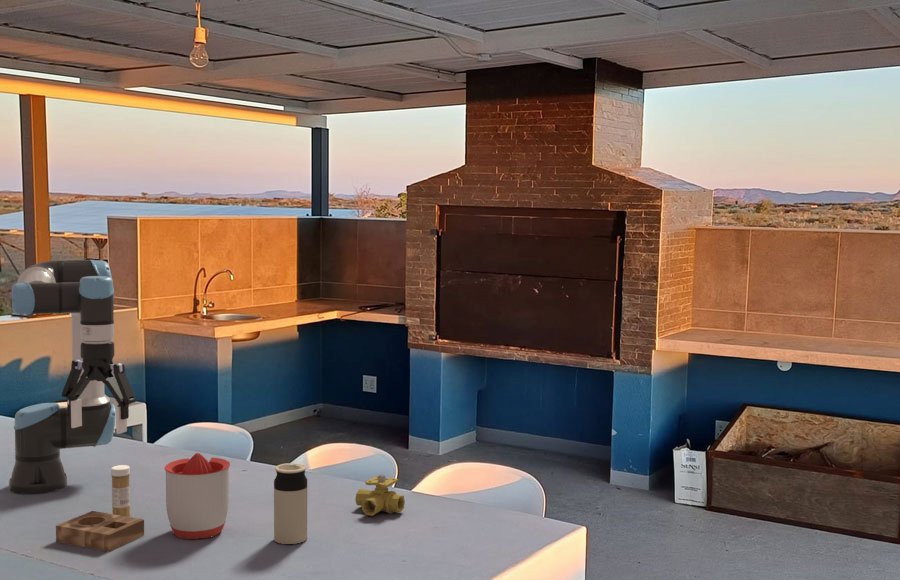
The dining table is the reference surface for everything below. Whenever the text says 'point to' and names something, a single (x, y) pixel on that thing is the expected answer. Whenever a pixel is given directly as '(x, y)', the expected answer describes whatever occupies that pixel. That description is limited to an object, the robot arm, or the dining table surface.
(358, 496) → the ball valve
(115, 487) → the sprinkles bottle
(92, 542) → the socket block
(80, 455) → the dining table surface
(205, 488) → the citrus juicer
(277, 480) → the travel mug
